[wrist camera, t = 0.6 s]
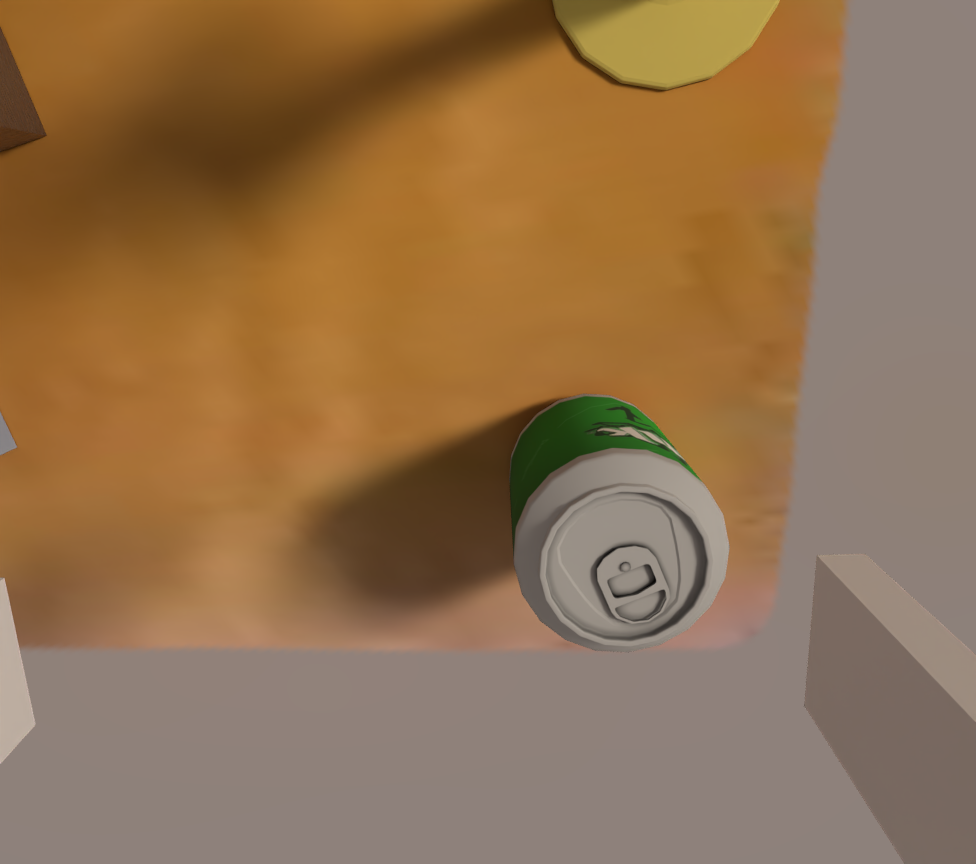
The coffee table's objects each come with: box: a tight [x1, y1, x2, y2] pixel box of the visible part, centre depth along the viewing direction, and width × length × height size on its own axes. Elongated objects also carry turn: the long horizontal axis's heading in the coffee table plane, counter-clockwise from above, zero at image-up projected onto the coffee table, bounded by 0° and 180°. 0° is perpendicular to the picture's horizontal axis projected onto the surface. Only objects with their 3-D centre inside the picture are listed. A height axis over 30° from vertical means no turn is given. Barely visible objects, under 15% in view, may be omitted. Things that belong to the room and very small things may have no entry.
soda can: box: [509, 394, 729, 652], centre depth 32 cm, size 8×8×12 cm
